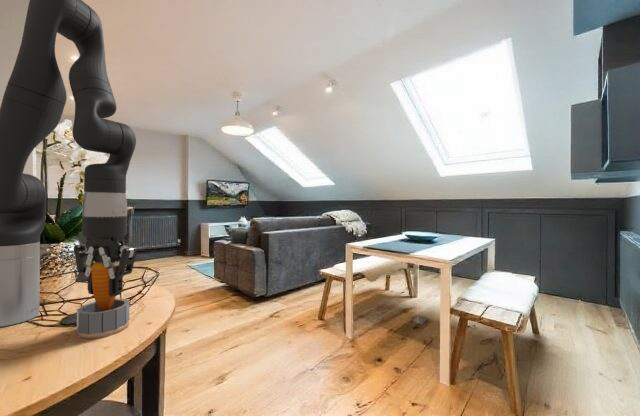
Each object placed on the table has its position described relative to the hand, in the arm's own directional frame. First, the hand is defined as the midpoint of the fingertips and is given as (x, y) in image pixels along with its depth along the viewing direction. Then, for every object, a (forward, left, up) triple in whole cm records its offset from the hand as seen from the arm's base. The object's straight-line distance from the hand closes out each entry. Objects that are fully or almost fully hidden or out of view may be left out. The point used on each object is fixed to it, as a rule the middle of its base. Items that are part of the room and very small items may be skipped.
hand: (104, 293), depth 59 cm
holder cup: (0, 0, -8) cm, 8 cm away
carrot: (0, 0, -5) cm, 5 cm away
